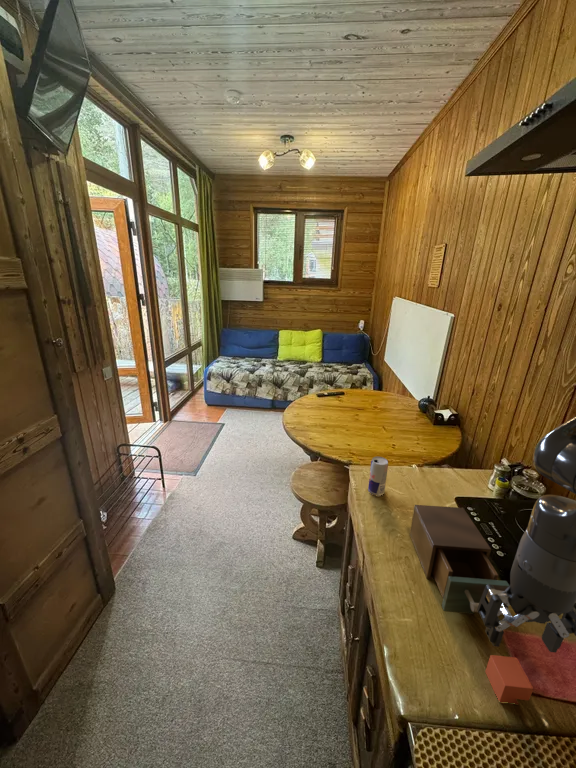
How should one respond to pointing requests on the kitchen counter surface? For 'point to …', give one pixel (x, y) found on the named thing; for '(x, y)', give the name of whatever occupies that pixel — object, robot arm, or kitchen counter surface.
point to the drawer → (463, 578)
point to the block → (508, 679)
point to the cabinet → (443, 533)
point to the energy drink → (378, 476)
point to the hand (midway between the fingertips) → (519, 643)
